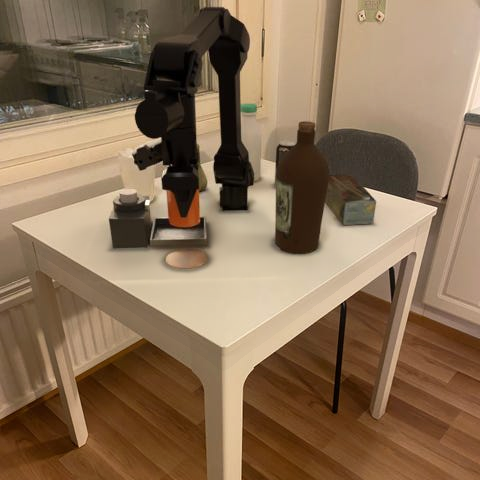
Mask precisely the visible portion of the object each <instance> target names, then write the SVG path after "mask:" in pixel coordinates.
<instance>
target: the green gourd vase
mask: <svg viewBox="0 0 480 480" xmlns="http://www.w3.org/2000/svg"><path fill="white" fill-rule="evenodd" d="M197 148H198V149H199V162H197V164H198V165H199V169H198V172H199V192H202V191H203V190H205V189H206V188H207V187H208V178H207V175H206V173H205V171H204V169H203V167H202V165H201V151H200V144H199V143H198V142H197Z"/></svg>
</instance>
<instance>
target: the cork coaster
mask: <svg viewBox="0 0 480 480" xmlns="http://www.w3.org/2000/svg"><path fill="white" fill-rule="evenodd" d="M208 259H209V258H208V255H207V253H205V252H203V251H201V250H199V249H194V248H193V249H192V248H183V249H177V250H175V251H172V252H170V253H168V255H166V257H165V262H166V264H167V265H168V266H170V267H172V268H175V269H180V270H181V269H182V270H191V269H192V270H193V269H196V268H199V267H202V266H203V265H205V264H206V263H207V261H208Z"/></svg>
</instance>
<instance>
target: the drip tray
mask: <svg viewBox="0 0 480 480" xmlns="http://www.w3.org/2000/svg"><path fill="white" fill-rule="evenodd" d="M152 219H153V220H152V224H151V229H150V234H149V247H150V248H153V247H155V248H157V247H202V246H204V247H206V246H208V235H207V234H208V233H207V232H208V231H207V216H200V222H199V223H198V224H197V225H195V226H191V227H176V226H173V225H171V224H170V223H169V220H168V216H165V217H163V216H162V217H153V218H152Z"/></svg>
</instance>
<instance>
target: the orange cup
mask: <svg viewBox="0 0 480 480" xmlns="http://www.w3.org/2000/svg"><path fill="white" fill-rule="evenodd" d="M165 191H166V205H167V206H166V207H167V217H168V220H169V223H170V224H171V225H173V226H176V227H191V226H195V225H197V224H198V223H199V222H200V217H201V207H200V206H201V205H200V191H199V189H197V191H196V194H195V196H194V199H193V201H192V204H191V207H190V209H189V212H188V215H187V217H184V218H182V217H181V216H180V213H179V210H178V207H177V203H176V200H175V197H174V194H173V193H172V192H171V191H170V190H165Z"/></svg>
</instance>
